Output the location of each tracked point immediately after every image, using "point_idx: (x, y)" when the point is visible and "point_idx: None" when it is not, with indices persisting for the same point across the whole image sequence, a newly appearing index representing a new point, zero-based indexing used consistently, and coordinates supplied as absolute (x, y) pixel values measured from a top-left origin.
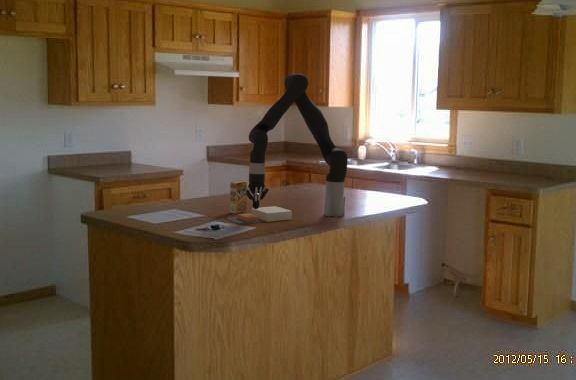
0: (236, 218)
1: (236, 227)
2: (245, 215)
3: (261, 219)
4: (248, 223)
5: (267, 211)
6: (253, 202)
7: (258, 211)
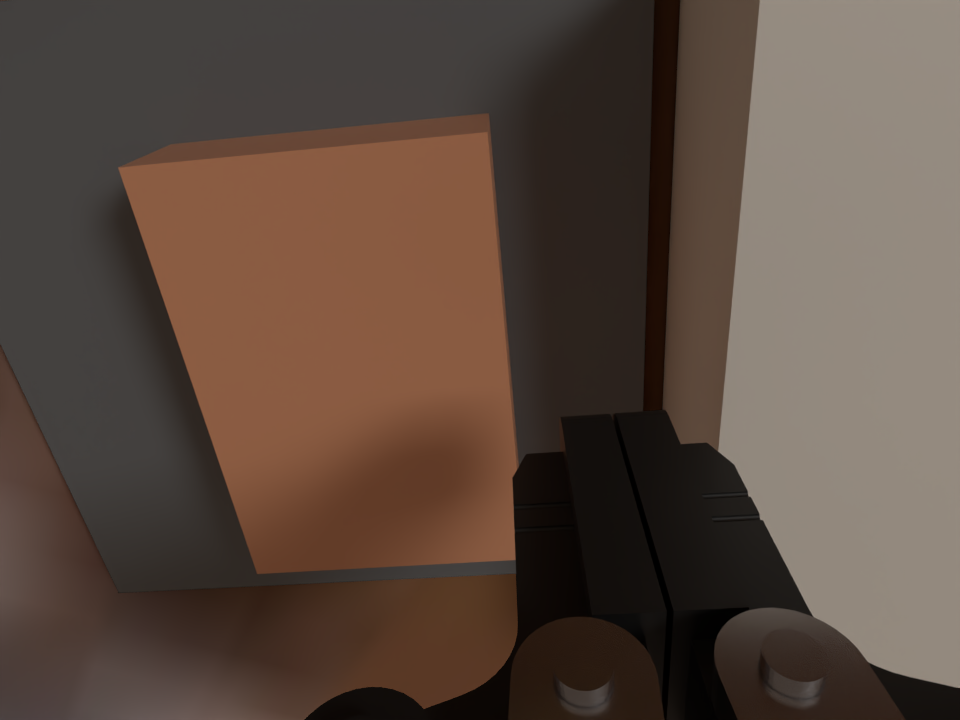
0: (149, 150)
1: (20, 696)
2: (290, 385)
3: (665, 401)
4: (271, 578)
5: (851, 554)
6: (536, 616)
7: (716, 364)
